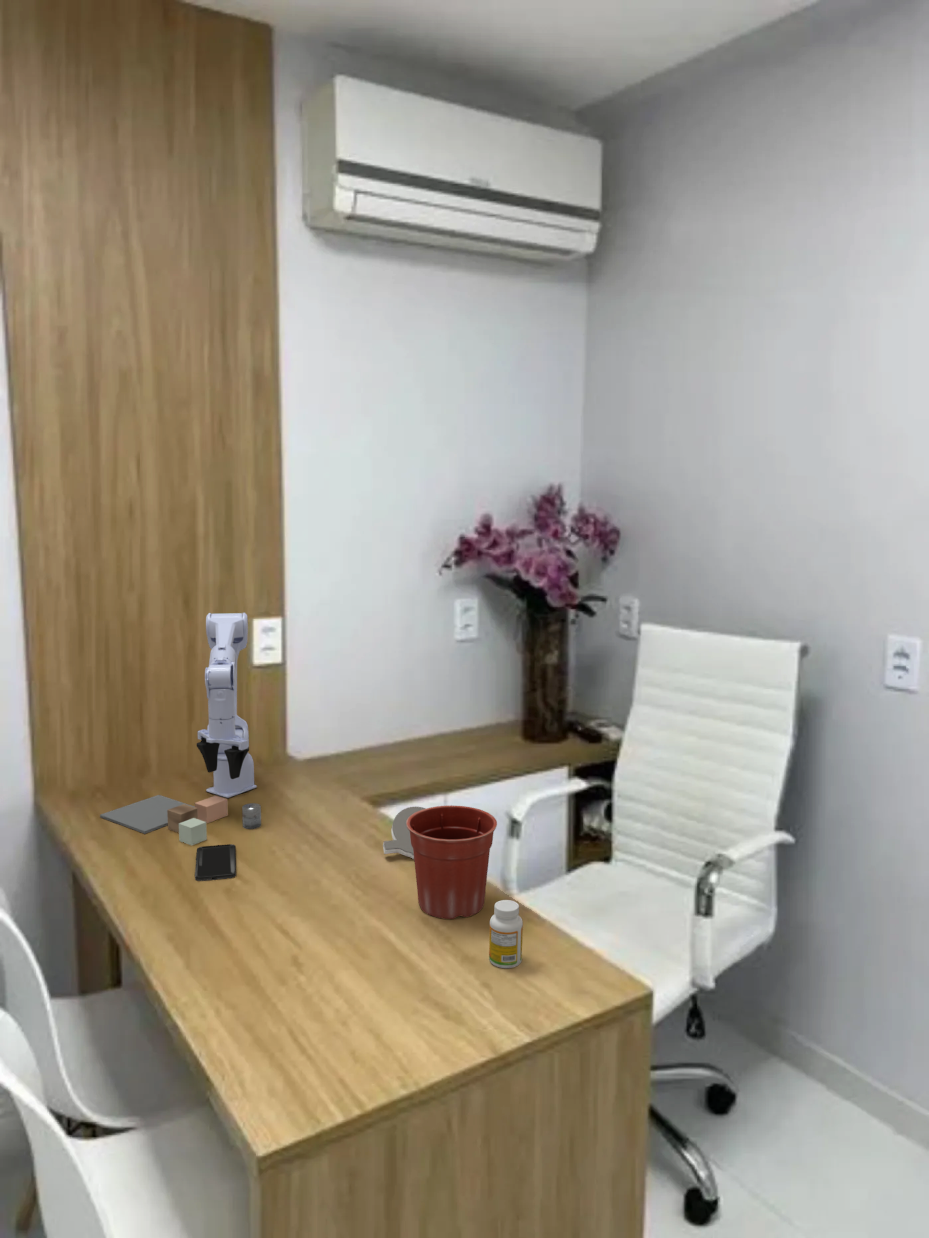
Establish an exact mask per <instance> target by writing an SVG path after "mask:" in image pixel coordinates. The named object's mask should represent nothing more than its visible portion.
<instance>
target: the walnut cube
mask: <svg viewBox="0 0 929 1238" xmlns="http://www.w3.org/2000/svg"><path fill="white" fill-rule="evenodd" d="M185 804H186V803H185ZM185 804H183V805H180V806H177V807H174V808H171V809H169V810H167V816H168V825H167V829H168V830H170V831H173V832H175V833H177V832H178V834H179V823H182V822H184V821H187V820H190V819H192V818H196V819H198V813H197V808H195V806H194V807H191V806H192V805H191V806H188V805H189V804H188V805H185Z"/></svg>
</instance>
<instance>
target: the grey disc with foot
mask: <svg viewBox="0 0 929 1238" xmlns="http://www.w3.org/2000/svg"><path fill="white" fill-rule="evenodd" d="M423 809H427V808H426V807H422V806H410V807H406V808H404V809H401V810H400V811H399V812H398V813H397V814H396V815H395V816H394V819H393V821H392V826H391V831H390V833H391V839H392V840H384V841H383V844H382V847H383V848H382V849H383V854H384V855H386V854H387V855H388V854H397V853H398V854H401V855H403V856H405V857H409V858H410V859H411V858H412V859H411V860H414V852H413V847H412V845H411V838H410V831H409V830H408V828H407V824H406V821H407V819H408V818H409V817H410V816H411V815H412V814H414V813H415V812H418V811H420V810H423Z"/></svg>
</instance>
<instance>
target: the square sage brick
mask: <svg viewBox="0 0 929 1238" xmlns="http://www.w3.org/2000/svg"><path fill="white" fill-rule="evenodd" d="M178 838H179V839H178V841H179V842H180V843H183V842H184V844H186V845H188V846H194V845H197V844H199V843H202V842H204V841H207V840H208V839H207V838H208V836H207V823H206V822H204V821H201V820H199V819H196V818H192V819H190V820H187V821H184V822H182V823H179V833H178Z"/></svg>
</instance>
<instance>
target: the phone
mask: <svg viewBox="0 0 929 1238" xmlns="http://www.w3.org/2000/svg"><path fill="white" fill-rule="evenodd" d="M236 849H237V848H236V845H235V844H233V843H232V844H231V843H229V844H219V845H218V844H216V845H205V846H204V845H203V846H199V847H197V849H196V856H195V869H194V880H195V881H197V882H207V881H215V880H228V879H227V878H229V879H234V878H235V876H236V877H237V853H236V852H237V850H236ZM233 877H234V878H233Z"/></svg>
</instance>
